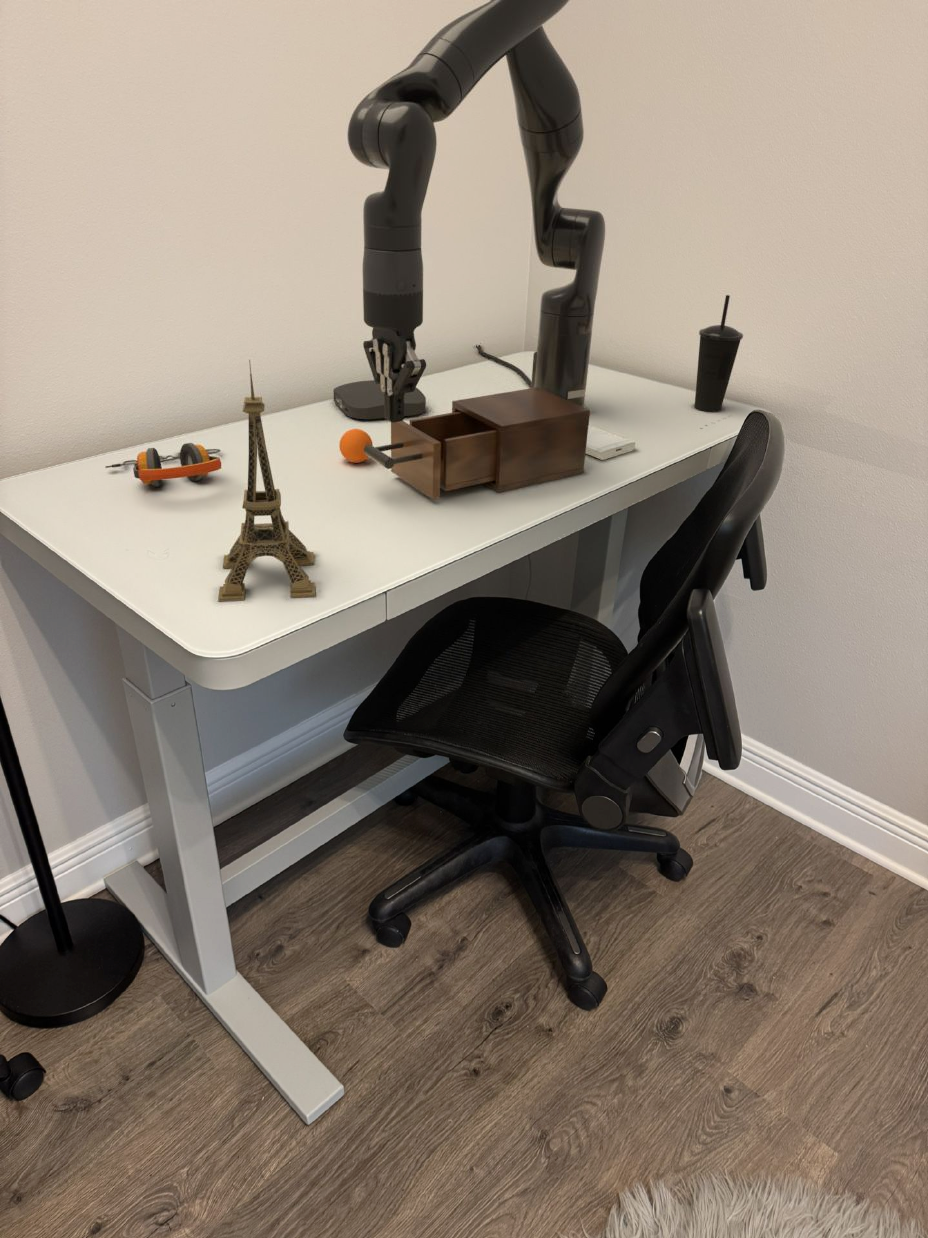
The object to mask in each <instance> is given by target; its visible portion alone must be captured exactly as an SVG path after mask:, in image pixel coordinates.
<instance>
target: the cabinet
mask: <svg viewBox="0 0 928 1238" xmlns="http://www.w3.org/2000/svg"><path fill="white" fill-rule="evenodd" d="M459 411H461V412H463V413H465V414H467V415H469V416H471V417H473V418H475V419H477V420H479V421H481V422H483V423H485V424H487V425H489V426H491V427H493V428H494V429H496V430H498V449H497V466H496V480H494V481H490V482H485V483H482V484H483V485H485V486H486V487H488V488H490V489H492V490H494V491H495V492H496V493H503V492H507V491H511V490H516V489H520V488H525V487H529V486H533V485H537V484H538V485H539V484H542V483H547V482H550V481H555V480H560V479H564V478H568V477H573V476H577V475H582V474H584V472H585V471H584V470H585V462H586V461H585V460H586V444H587V435H588V425H590V416H591V410H590V409H589V408H586V407H582V406H579V405H577V404H575V403H572V402H570V401H568V400H565V399H563V398H561V397H558V396H556V395H554V394H551V393H549V392H547V391H544V390H542V389H540V388H537V387H536V388H530V387H529V388H525V389H519V390H512V391H506V392H501V393H494V394H488V395H481V396H475V397H470V398H463V399H457V400H452V401H451V413H453V412H459Z"/></svg>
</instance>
